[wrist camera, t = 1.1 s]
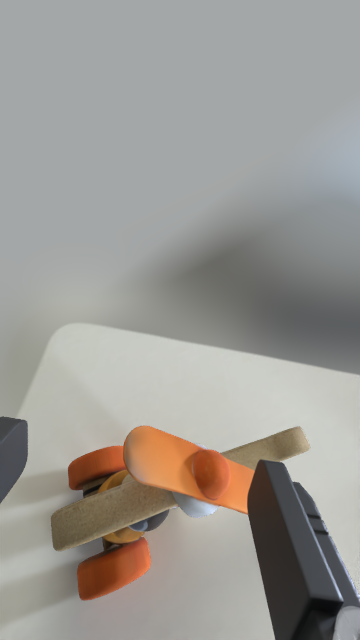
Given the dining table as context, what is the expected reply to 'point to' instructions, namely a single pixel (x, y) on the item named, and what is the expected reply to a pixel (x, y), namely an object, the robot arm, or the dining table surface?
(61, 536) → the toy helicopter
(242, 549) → the dining table surface
